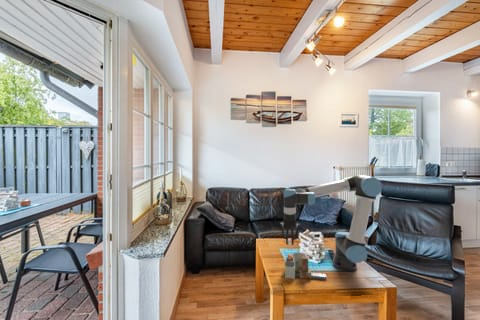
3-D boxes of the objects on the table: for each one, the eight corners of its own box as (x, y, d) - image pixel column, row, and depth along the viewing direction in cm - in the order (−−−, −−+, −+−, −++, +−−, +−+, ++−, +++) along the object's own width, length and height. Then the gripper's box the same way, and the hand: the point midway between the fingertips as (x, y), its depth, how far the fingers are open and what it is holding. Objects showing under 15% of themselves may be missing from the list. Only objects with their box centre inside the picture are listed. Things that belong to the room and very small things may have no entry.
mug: (306, 273, 148) (306, 258, 148) (286, 271, 150) (286, 256, 150) (305, 267, 156) (305, 252, 156) (286, 265, 159) (286, 251, 158)
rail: (325, 276, 144) (325, 274, 144) (326, 279, 140) (326, 277, 140) (294, 273, 148) (294, 270, 148) (294, 276, 144) (294, 273, 144)
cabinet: (294, 271, 151) (294, 256, 150) (294, 278, 142) (294, 263, 142) (285, 270, 152) (285, 255, 152) (285, 277, 143) (285, 262, 143)
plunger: (292, 258, 148) (292, 254, 148) (292, 260, 145) (292, 256, 145) (287, 258, 148) (287, 253, 148) (287, 260, 146) (287, 255, 146)
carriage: (310, 273, 147) (310, 255, 147) (311, 278, 141) (311, 260, 141) (299, 272, 149) (299, 254, 148) (299, 277, 143) (299, 259, 142)
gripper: (300, 212, 148) (300, 248, 149) (278, 211, 151) (279, 246, 152) (301, 215, 141) (301, 252, 141) (278, 214, 144) (278, 251, 144)
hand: (289, 249), depth 146 cm, fingers closed
